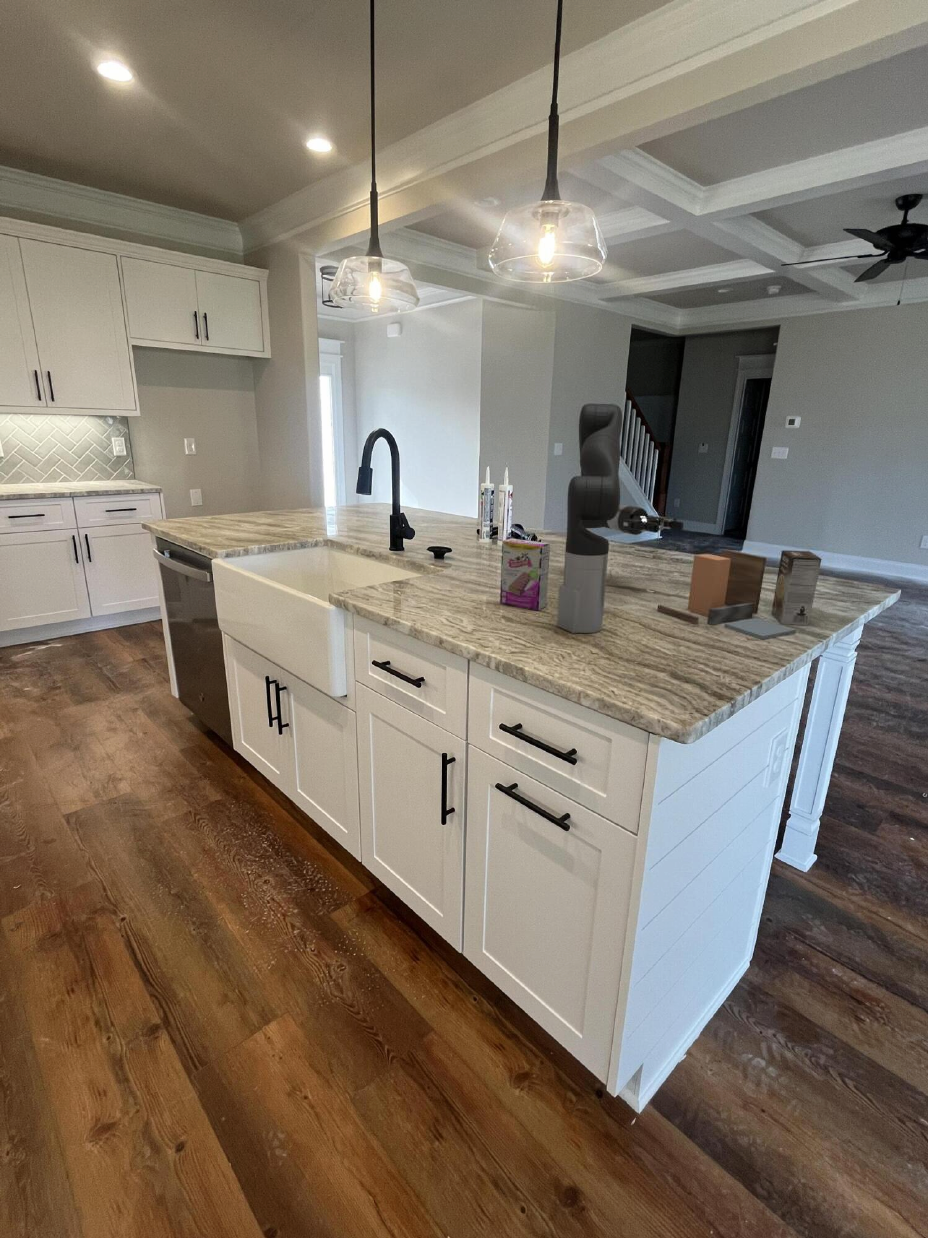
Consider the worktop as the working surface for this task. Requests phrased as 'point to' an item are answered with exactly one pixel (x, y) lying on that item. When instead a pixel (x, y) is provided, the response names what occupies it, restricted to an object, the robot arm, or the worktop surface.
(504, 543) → the candy bar box
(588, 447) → the robot arm
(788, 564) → the coffee box
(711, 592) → the orange block
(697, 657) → the worktop surface
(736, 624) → the mat
